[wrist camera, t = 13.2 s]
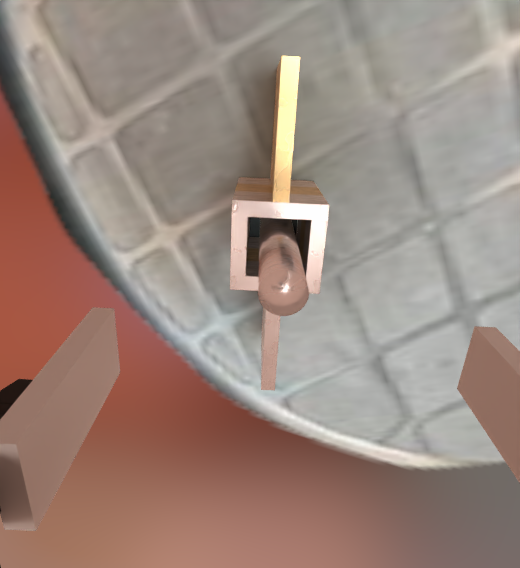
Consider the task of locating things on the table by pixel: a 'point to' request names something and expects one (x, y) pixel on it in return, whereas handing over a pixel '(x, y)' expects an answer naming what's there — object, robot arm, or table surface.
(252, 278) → the hinge
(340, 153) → the table surface
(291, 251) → the hinge pin
